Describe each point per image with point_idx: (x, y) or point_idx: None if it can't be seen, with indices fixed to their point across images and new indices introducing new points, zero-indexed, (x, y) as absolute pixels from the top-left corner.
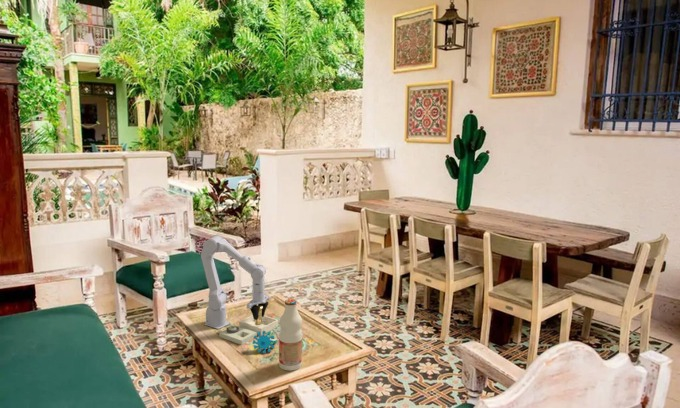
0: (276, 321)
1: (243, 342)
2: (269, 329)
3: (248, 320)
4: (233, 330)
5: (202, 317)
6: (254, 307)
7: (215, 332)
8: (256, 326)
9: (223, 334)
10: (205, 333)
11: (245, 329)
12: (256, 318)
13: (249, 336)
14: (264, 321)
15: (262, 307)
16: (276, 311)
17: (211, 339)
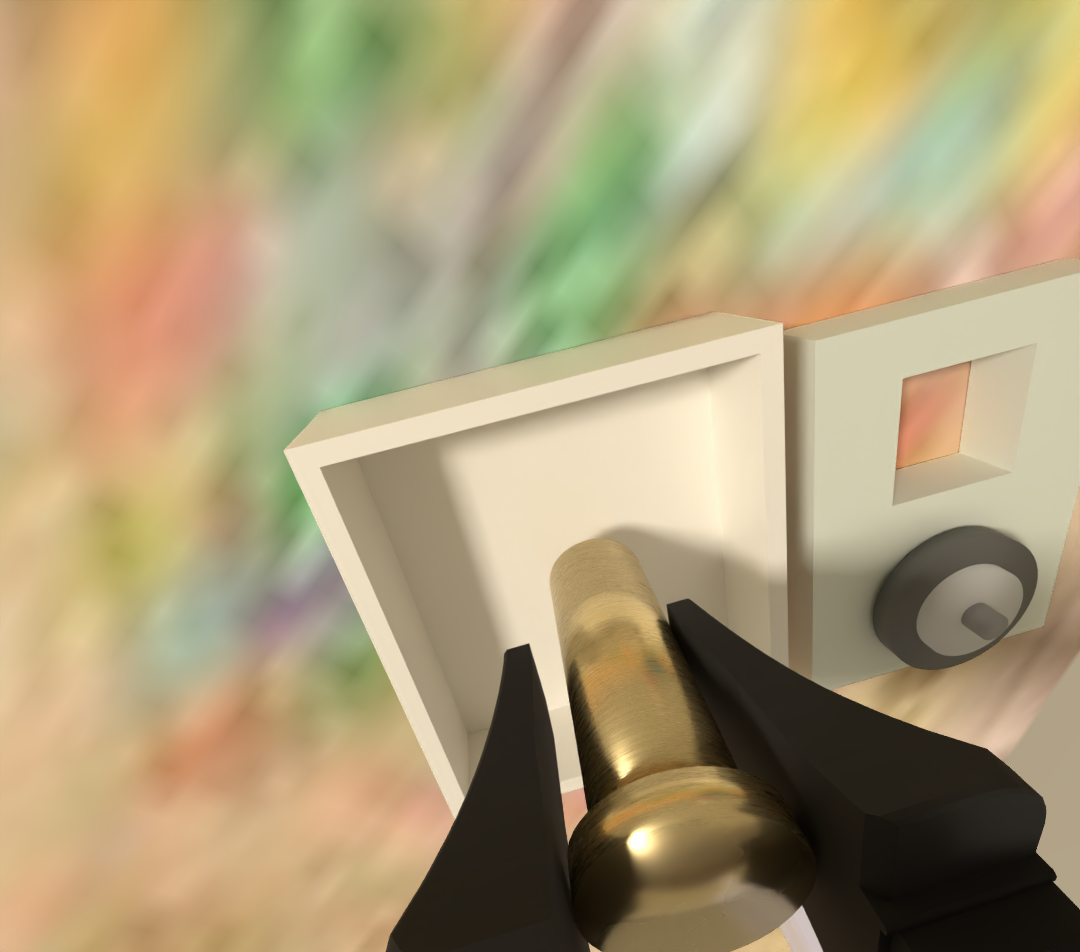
0: (343, 430)
1: (1053, 266)
2: (540, 361)
3: None
4: (1001, 560)
5: (777, 938)
6: (1016, 863)
7: (934, 690)
8: (769, 457)
9: (1054, 570)
10: (990, 713)
11: (829, 533)
12: (707, 618)
13: (977, 299)
14: (425, 636)
15: (658, 822)
16: (88, 814)
17: (1068, 590)
